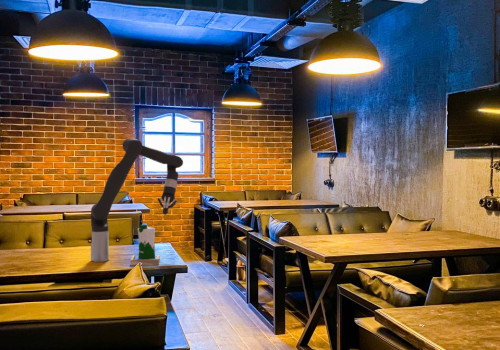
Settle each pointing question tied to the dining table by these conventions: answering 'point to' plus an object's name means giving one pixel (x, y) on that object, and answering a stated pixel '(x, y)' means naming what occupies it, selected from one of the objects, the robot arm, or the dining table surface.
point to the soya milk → (146, 242)
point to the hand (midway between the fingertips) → (164, 214)
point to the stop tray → (145, 261)
